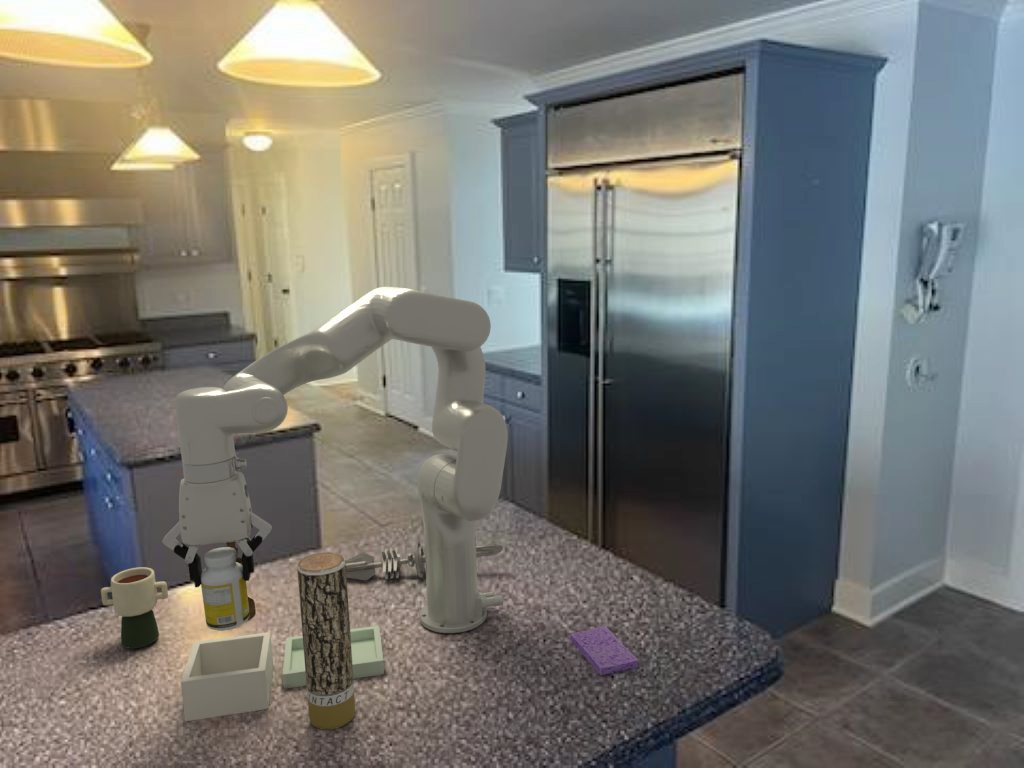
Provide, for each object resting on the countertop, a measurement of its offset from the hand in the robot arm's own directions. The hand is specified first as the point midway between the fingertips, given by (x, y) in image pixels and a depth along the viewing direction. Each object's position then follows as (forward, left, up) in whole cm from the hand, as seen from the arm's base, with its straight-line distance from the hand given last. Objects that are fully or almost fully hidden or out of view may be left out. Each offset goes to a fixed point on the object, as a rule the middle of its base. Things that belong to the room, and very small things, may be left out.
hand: (223, 579), depth 120 cm
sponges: (-61, +4, -20) cm, 64 cm away
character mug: (+18, -21, -19) cm, 34 cm away
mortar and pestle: (+2, -27, -19) cm, 33 cm away
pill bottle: (0, 0, -7) cm, 7 cm away
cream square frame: (0, 0, -19) cm, 19 cm away
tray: (-16, -5, -19) cm, 25 cm away
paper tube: (-15, +11, -19) cm, 27 cm away
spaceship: (-34, -35, -20) cm, 52 cm away
